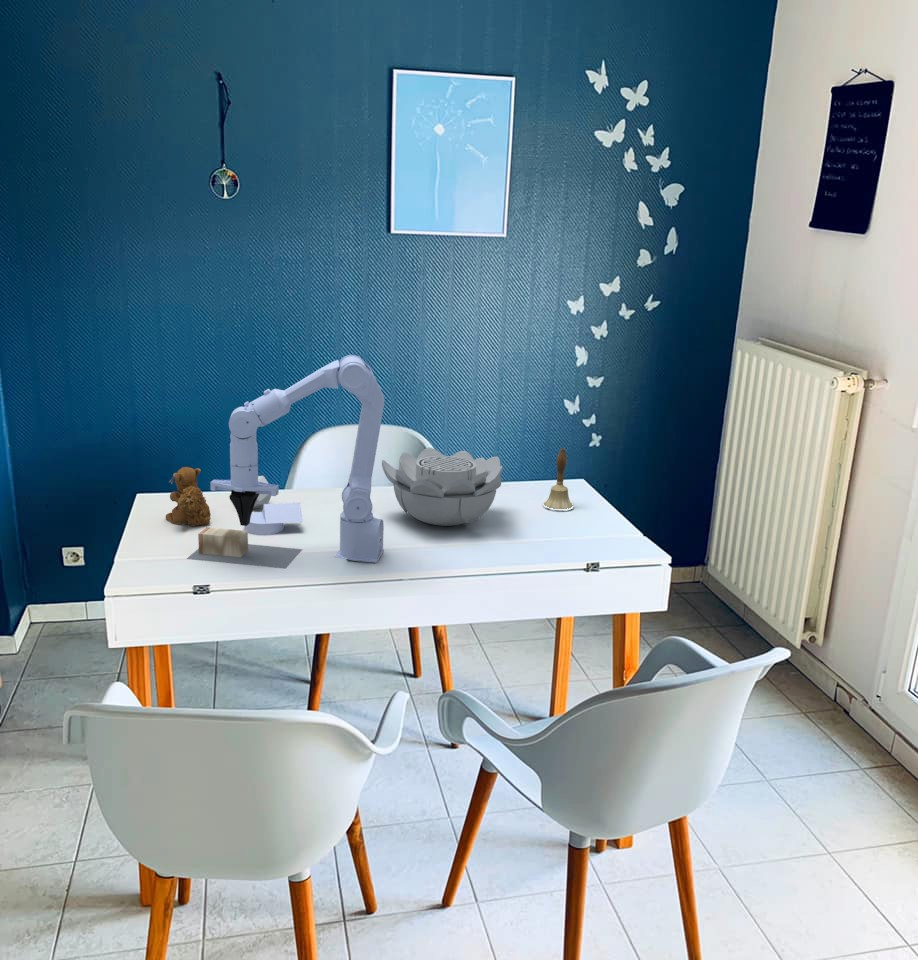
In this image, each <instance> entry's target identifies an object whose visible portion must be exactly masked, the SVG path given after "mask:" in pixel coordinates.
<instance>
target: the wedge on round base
mask: <svg viewBox="0 0 918 960" xmlns="http://www.w3.org/2000/svg"><path fill="white" fill-rule="evenodd" d="M261 510H262V511H256V512H252V514H251V518H250V523H249V524H248V525H247V526H244V531H248V534H251V535H256V536H268V535H270V536H271V535H274V534H279V533H280V532H281V533H282V532H283V530H284V529H285V527H284V524H288V523H303V522H304V520H303V514H302V513H303V511H302V505H301V502H284V503H283V502H282V503H281V502H279V503H278V502H277V503H268V504H264V506H263V508H262V509H261Z"/></svg>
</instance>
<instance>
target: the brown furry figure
mask: <svg viewBox="0 0 918 960" xmlns="http://www.w3.org/2000/svg"><path fill="white" fill-rule="evenodd" d="M200 473H201V469H200V468H198V467H197V468H195V469H194V468H192V467H189V466H182V467H181V468H180V469H178V470H177V472H174V473H173V476H172V478H171V479H169V481H168V483H170V484H171V485H173V483H174V482H175V486H176V488H177V491H172V492H171V493H170V494H169V499H170V501H172V502H175V503H177V505H176V506H174V508H173V509H172V510H171V512H168V513H167V514H166V515H165V520H167V521H168V522H170V523H172V524H174V525H175V524H176V525H188V526H190V527H193V528H194V527H199V526H200V527H201V526H207V525H208V524H209V523H210V522H211V519H212V518H211V516H212V515H211V514H212V513H211V509H210V506H209V504H208V503H207V499H206V497H205V496H204V493H203V491H204V490H203V491H202V490H201V488H199V487H198V478H197V477H198V476H199V475H200ZM174 480H175V481H174Z"/></svg>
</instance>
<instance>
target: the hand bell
mask: <svg viewBox="0 0 918 960" xmlns="http://www.w3.org/2000/svg"><path fill="white" fill-rule="evenodd" d="M567 459H568V458H567V454H566V449H565V448H560V449H559V452H558V453H557V457H556V468H557V476H556V478H557V479H556V484H555V485H553V486H551V488H550V492H549V493H550V494H549V495H548V498H547V500H545V502H543V504H544V505H545V506H547V507H549V508H553V509H567V508H568V509H569V508H571V507H572V506H574V504H573V503H572V502H571V500H570V497H569V488H568V487H567V486H565V485H564V472H565V469H566V466H567V462H568V461H567ZM572 504H573V505H572Z"/></svg>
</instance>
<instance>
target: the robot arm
mask: <svg viewBox="0 0 918 960" xmlns="http://www.w3.org/2000/svg"><path fill="white" fill-rule="evenodd" d="M339 384H340V385H341V387H342V388H343V389H344V390H346V391H347V392H350V393H351V394H353V395H354V396H355V398H356V399H357V400H358V401H359V402H360V403H361V407H360V414H359V421H358V427H357V433H356V439H355V445H354V451H353V457H352V461H351V470H350V473H349V477H348V481H347V484H346V486H345V487H344V488H343V490H342V492H341V500H342V504H343V505H342V509H343V511H342V512H340V514H339V516H340V517H339V529H340V530H339V550H338V551H337V552H336V554H335V555H334V558H337V559H345V561H354V562H364V563H374V564H375V563H377V562H378V560H379V559H380V557H381V555H382V554H384V553H383V552H384V551H385V550H384V526H385V525H384V520H383V519H381V518H377V517H375V516H374V513H373V502H372V499H371V493H372V479H373V474H374V473H373V471H374V466H375V461H376V455H377V449H378V441H379V437H380V432H381V431H380V430H381V424H382V419H383V414H384V409H385V408H384V407H385V395H384V394H383V391H382V390H381V387H380V385H379V383H378V380H377V379H376V377H375V375H374V372H373V370H372V368H371V366H370V365H368V363H366V362H365V361H364V359H363V358H361V357H360V356H358V355H355V354H348V355H346V356H343V357H342V358H341V359H340V360H339V359H336V360H334V361H331V362H329V363H328V364H326V365H324V366H323V367H320V368H319V369H317V370H316V371H313V372H312V373H311V374H309V375H306V377H304V378H303V379H301V380H299V381H297V382H296V383H294V384H292V385H291V386H290V387H288V388H286V389H284V390H283V389H278V388H273V389H270V388H267V389H266V390H264V391H263V395H261V396H260V397H257V398H256V399H254V400H252V401H250V402H249V400H247V401H246V402H244V404H243V405H244V406H238V407H236V408H235V409H234V410H233V411H232V412H231V415H230V417H229V420H228V427H229V431H230V435H229V436H230V443H229V459H230V461H229V465H230V466H229V467H230V479H213V480H212V481H210V483H209V484H210V491H213V492H215V491H225V492H231V493H230V495H229V497H228V498H229V500H230V502H231V503H232V505H233V507H234V510H236V513H237V517H238V519H239V520H238V521H239V523H240V526H242V527H243V526H244V527H245V526H247V525H248V524H249V523H250V518H251V514H252V513H253V510H254V509H253V507H254V505H255V502H256V500H257V498H258V496H259V494H267V495H271V497H277V496H278V495H279V489H280V488H279V485H278V484H271V483H269V482H268V483H269V484H268V483H263V482H258V476H259V458H258V457H259V455H258V454H259V452H258V449H259V448H258V444H259V443H258V442H257V431H258V428H259V427H260V428H263V427H265V426H267V425H269V424H270V423H272V422H274V421H276V420H278V419H280V418H282V417H283V416H285V415H287V414H289V413H290V410H291V407H292V404H294V403H296V402H298V401H300V400H302V399H305V398H306V397H308V396H310V395H311V394H314V393H315V392H318V391H320V390H321V389H324V388H327V389H329V388H330V389H335V390H336V389H337V390H339Z"/></svg>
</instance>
